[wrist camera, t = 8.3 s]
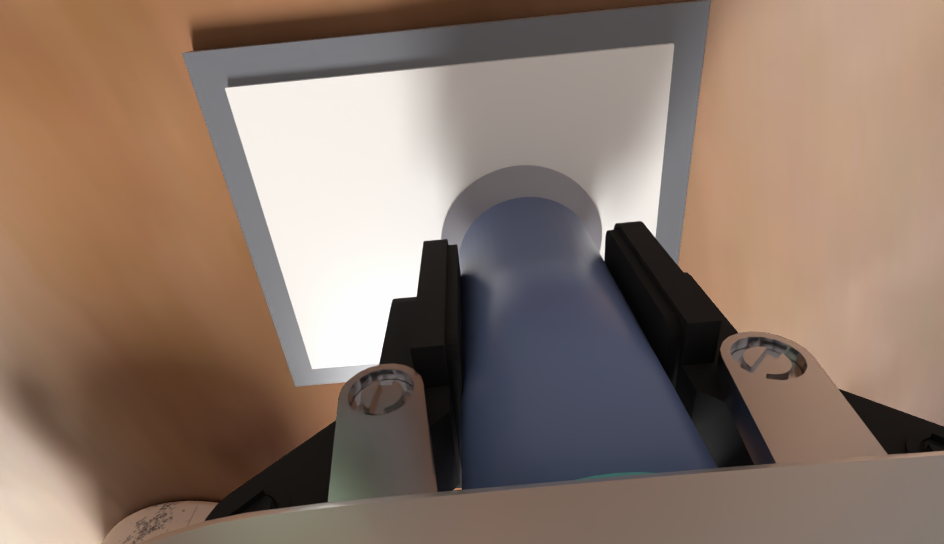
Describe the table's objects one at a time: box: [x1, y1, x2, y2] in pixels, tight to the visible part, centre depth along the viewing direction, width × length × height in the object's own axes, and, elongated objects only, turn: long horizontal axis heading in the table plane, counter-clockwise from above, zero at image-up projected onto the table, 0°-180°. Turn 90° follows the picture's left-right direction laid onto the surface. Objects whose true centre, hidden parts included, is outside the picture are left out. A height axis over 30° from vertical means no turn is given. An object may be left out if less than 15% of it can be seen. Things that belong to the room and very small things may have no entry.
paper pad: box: [182, 0, 711, 386], centre depth 14 cm, size 12×10×1 cm
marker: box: [459, 197, 718, 490], centre depth 9 cm, size 4×4×10 cm
